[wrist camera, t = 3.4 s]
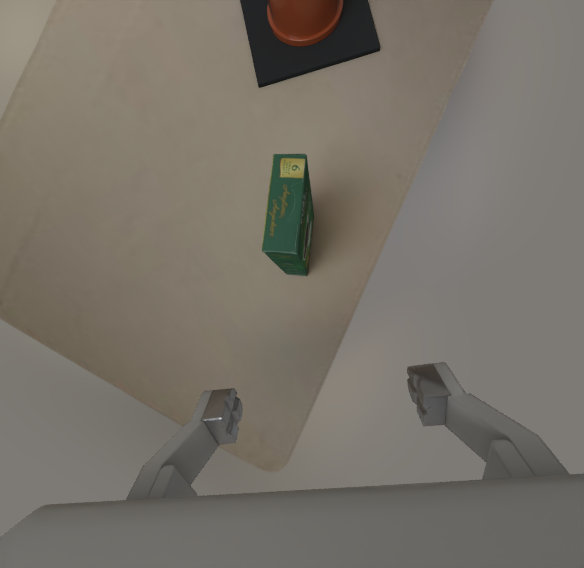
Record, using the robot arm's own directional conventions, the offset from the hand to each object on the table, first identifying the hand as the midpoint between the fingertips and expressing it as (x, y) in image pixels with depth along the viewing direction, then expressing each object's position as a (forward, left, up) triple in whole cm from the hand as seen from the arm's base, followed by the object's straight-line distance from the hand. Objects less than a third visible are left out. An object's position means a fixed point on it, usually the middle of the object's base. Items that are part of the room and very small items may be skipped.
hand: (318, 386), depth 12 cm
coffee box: (0, -12, -19) cm, 22 cm away
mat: (-7, -42, -19) cm, 46 cm away
